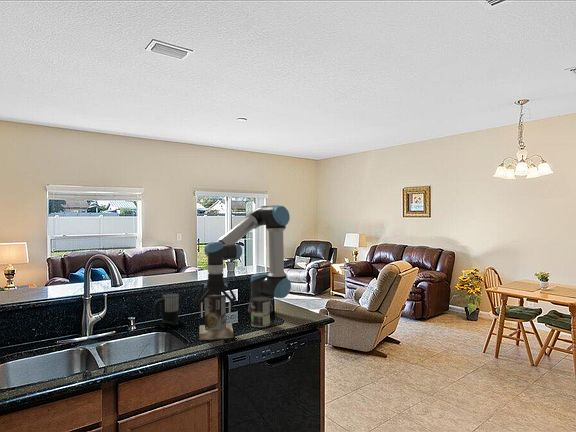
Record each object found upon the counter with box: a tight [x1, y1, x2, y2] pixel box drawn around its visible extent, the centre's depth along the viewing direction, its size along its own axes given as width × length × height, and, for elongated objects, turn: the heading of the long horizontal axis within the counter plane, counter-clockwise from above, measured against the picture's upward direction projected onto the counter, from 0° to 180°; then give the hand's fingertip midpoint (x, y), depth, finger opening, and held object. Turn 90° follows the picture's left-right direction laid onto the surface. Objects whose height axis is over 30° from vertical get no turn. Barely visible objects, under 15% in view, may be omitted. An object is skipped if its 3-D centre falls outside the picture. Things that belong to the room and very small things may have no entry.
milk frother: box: [153, 293, 180, 327], centre depth 203 cm, size 14×16×15 cm
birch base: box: [198, 322, 234, 341], centre depth 183 cm, size 16×14×3 cm
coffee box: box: [203, 294, 227, 330], centre depth 183 cm, size 9×6×16 cm
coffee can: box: [250, 297, 271, 328], centre depth 199 cm, size 10×10×14 cm
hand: (215, 315), depth 183 cm, fingers open, 13 cm apart
